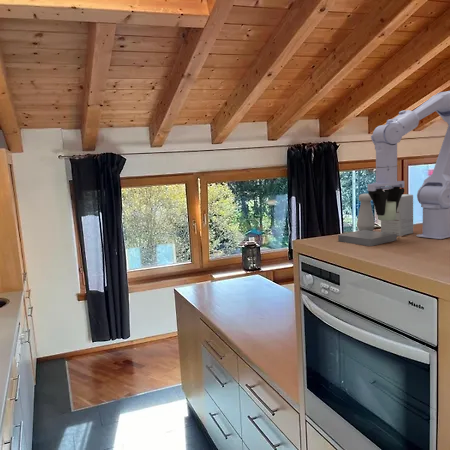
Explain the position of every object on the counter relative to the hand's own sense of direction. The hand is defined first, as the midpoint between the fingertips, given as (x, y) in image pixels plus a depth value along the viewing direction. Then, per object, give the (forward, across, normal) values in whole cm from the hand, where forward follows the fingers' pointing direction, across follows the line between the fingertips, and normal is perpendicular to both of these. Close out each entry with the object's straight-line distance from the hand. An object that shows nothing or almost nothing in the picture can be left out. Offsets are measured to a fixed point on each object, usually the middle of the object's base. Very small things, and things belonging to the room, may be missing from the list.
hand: (386, 214), depth 125 cm
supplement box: (+9, -15, -7) cm, 19 cm away
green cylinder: (+2, 0, 0) cm, 2 cm away
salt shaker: (+9, -12, -17) cm, 23 cm away
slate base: (+8, +1, -6) cm, 11 cm away
